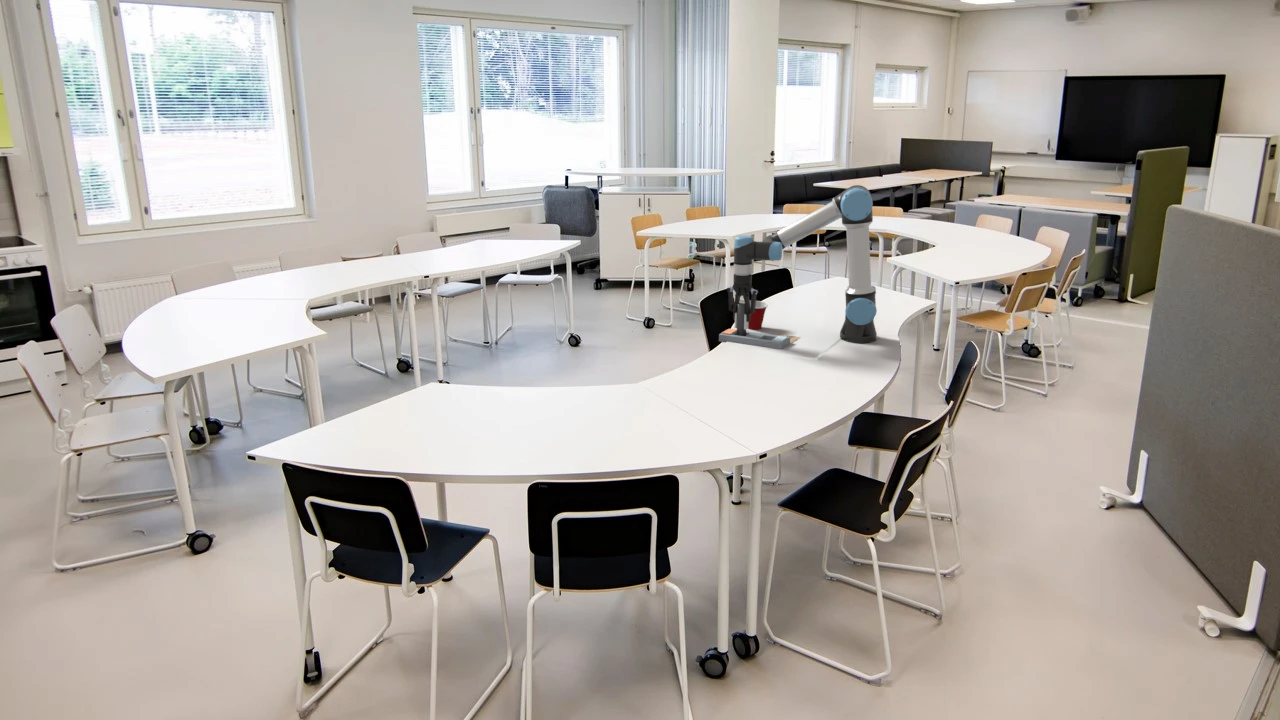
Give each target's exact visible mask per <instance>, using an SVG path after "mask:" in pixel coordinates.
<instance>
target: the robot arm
mask: <svg viewBox="0 0 1280 720" xmlns="http://www.w3.org/2000/svg"><path fill="white" fill-rule="evenodd" d="M873 205H874V202H873V198H872V194H871V192H870V190H869V189H868V188H867V187H865V186H863V185H860V184H859V185H857V184H856V185H855V184H854V185H852V186H849V187H848V188H846V189H844V190H843V191H842V192H841V193H839V194H838V195H836V196H835V197H834V196H833V198H832V200H831V201H830V202H829V203H827V204H825V205H823V206H821V207H819V208H818V209H816V210H814V211H812V212H810V213H808V214H807V215H806V216H803V217H801V218H800V219H797V220H796V221H794V222H792V223H790V224H789V225H787V226H785V227H783V228H781V229H779V230H778V231H776V232H774V233H772V234H769V235H768V236H766V237H765V238H764V239H762V241H756V240H754V238H753V236H751V235H738V236H736V237H735V238H734V243H733V244H734V246H733V273H734V274H733V282H732V283H733V284H732V286H729V287H727V288H726V292H727V294H728V299H727V300H728V301H727V302H728V311H729V312H732V320H733V321H734V329H737V304H738V303H740V301H741V300H740V299H741V298H743V302H745V309H746V314H744V330H746V331H747V330H749V329H748V322H749V321H750V318H751V314H752V313H754V312H755V307H756V301H757V295H758V293H759V290H758V289H754V288H753V285H752V282H753V281H752V279H753V275H752V273H753V261H771V262H774V261H781V260H782V258H783V250H784V249H786V248H787V247H789V246H791V245H793V244H795V243H796V242H798V241H800V240H803V239H804V238H806V237H807V236H809V235H811V234H813V233H815V232H817V231H819V230H821V229H823V228H824V227H826V226H828V225H830V224H832V223H834V222H836V221H838V220H839V219H841V225H843V226H844V227H845V229H846V249H847V273H848V285H847V288H846V289H845V290H844V293H845V294H844V296H845V316H844V322H843V324H842V326H841V329H840V331H839V338H840V339H841V340H842V341H846V342H849V343H856V344H857V343H858V344H864V343H872V342H873V343H874V342H875V341H876V340H877V337H878V336H877V335H878V334H877V330H876V326H875V320H874V319H875V317H876V315H877V311H878V310H877V306H876V305H877V304H876V303H877V301H876V294H877V291H876V290H877V288H876V287H875V286H874V285H872V278H871V277H872V275H871V248H870V246H871V245H870V225H871V224H873V222H874V220H873V217H874V216H873ZM734 292H735V295H734ZM750 293H751V295H750ZM741 296H742V297H741ZM750 296H751V299H750ZM734 297H735V298H734ZM750 301H751V308H750Z"/></svg>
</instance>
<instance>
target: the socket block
mask: <svg viewBox="0 0 1280 720" xmlns="http://www.w3.org/2000/svg"><path fill="white" fill-rule="evenodd" d="M777 335H778V334H770V333H762V332H754V331H749V330H746V336H745V337H744V336H738V335H737V329H736V328H728V329H725V330H724V331H722V332H721V333H719V334H718V342H722V343H727V342H730V343H737V344H743V345H750V346H755V347H756V346H757V347H762V348H768V349H777V350H782V349H784V348H785V347H787V346H788V345H789V344H791V343H790V337H785V336H777Z"/></svg>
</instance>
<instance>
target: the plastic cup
mask: <svg viewBox="0 0 1280 720" xmlns="http://www.w3.org/2000/svg"><path fill="white" fill-rule="evenodd" d="M749 301H750V308H751V300H749ZM742 303H745V302H744V301H742ZM768 306H769V304H768V303H766V302H764V301H761V300H756V307H755V312H754V313H752V314H751V318H750V321H749V322H748V329H747V330H752V331H753V330H754V331H758V330H761V329H762V325H763V321H764V317H765V313H766V310H767V308H768Z"/></svg>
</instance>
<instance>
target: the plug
mask: <svg viewBox="0 0 1280 720" xmlns="http://www.w3.org/2000/svg"><path fill="white" fill-rule="evenodd" d="M744 314H746V309H745V303H743V302H739V303H738V304H737V328H736V330H737V335H738V336H744V337H745V336H746V331H747V329H746V330H744Z"/></svg>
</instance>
